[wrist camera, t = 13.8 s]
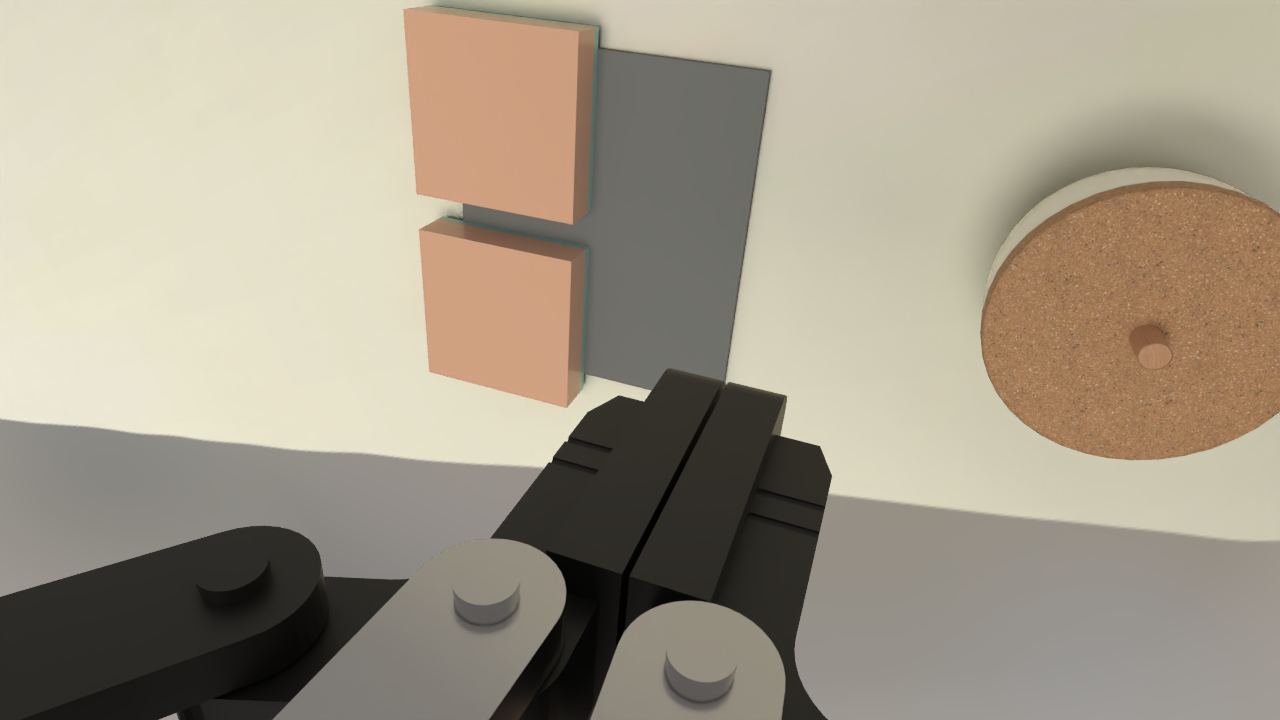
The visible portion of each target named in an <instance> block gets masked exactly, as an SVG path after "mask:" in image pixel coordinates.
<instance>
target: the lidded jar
mask: <svg viewBox="0 0 1280 720" xmlns="http://www.w3.org/2000/svg"><path fill="white" fill-rule="evenodd" d="M980 334H981V345H982V355H983V360H984V363H985V367H986V370H987V373H988V376H989V378H990V380H991V382H992V384H993V386H994V388H995V390H996V392H997V394H998V395H999V397H1000V398H1001V399H1002V400H1003V402H1004V403H1005V404H1006V406H1007V407H1008V408H1009V410H1010V411H1012V412H1013V413H1014V414H1015V415H1016V416H1017V417H1018V418H1019V419H1020V420H1021V421H1022V422H1023V423H1024V424H1026V425H1027V426H1029V427H1030V428H1032V429H1033V430H1034V431H1036V432H1037V433H1039V434H1040V435H1042V436H1044V437H1046V438H1048V439H1050V440H1052V441H1054V442H1056V443H1058V444H1060V445H1062V446H1065V447H1068V448H1071V449H1074V450H1077V451H1080V452H1083V453H1087V454H1091V455H1096V456H1101V457H1106V458H1115V459H1127V460H1152V459H1165V458H1171V457H1178V456H1185V455H1189V454H1193V453H1197V452H1201V451H1205V450H1209V449H1212V448H1214V447H1217V446H1219V445H1222V444H1224V443H1227V442H1229V441H1232V440H1234V439H1236V438H1238V437H1240V436H1242V435H1244V434H1246V433H1248V432H1250V431H1252V430H1254V429H1256V428H1258V427H1259V426H1260V425H1262V424H1263V423H1265V422H1266V421H1267V420H1269V419H1270V418H1272V417H1273V416H1274V415H1276V414H1277V413H1279V412H1280V214H1279V213H1277V212H1276V211H1275V210H1273V209H1272V208H1270V207H1269V206H1267V205H1266V204H1264V203H1262V202H1260V201H1258V200H1255V199H1253V198H1251V197H1250V196H1248V195H1247V194H1245V193H1244V192H1242V191H1241V190H1239V189H1237V188H1235V187H1232V186H1230V185H1228V184H1226V183H1223V182H1221V181H1219V180H1216V179H1214V178H1211V177H1208V176H1205V175H1201V174H1197V173H1193V172H1190V171H1186V170H1179V169H1170V168H1161V167H1137V168H1125V169H1118V170H1112V171H1106V172H1103V173H1100V174H1096V175H1093V176H1089V177H1086V178H1083V179H1081V180H1079V181H1076V182H1074V183H1072V184H1070V185H1067V186H1065V187H1063V188H1061V189H1060V190H1058V191H1057V192H1055V193H1053V194H1052V195H1050V196H1048V197H1047V198H1045V199H1044V200H1043V201H1041V202H1040V203H1039V204H1038V205H1036V206H1035V207H1034V208H1033V209H1031V210H1030V211H1029V212H1028V213H1027V214H1026V215H1025V216H1024V217H1023V218H1022V219H1021V220H1020V221H1019V223H1018V224H1017V225H1016V226H1015V227H1014V228H1013V230H1012V231H1011V233H1010V234H1009V236H1008V237H1007V238H1006V240H1005V241H1004V243H1003V244H1002V246H1001V247H1000V249H999V251H998V253H997V255H996V258H995V260H994V262H993V264H992V267H991V270H990V274H989V277H988V281H987V284H986V288H985V292H984V303H983V310H982V320H981V331H980Z"/></svg>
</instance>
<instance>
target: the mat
mask: <svg viewBox="0 0 1280 720" xmlns="http://www.w3.org/2000/svg"><path fill="white" fill-rule="evenodd" d="M770 75H771V71H769V70H762V69H754V68H747V67H739V66H732V65H724V64H716V63H709V62H701V61H694V60H686V59H679V58H671V57H664V56H656V55H649V54H641V53H634V52H626V51H618V50H611V49H603V48H598V62H597V85H596V108H595V132H594V155H593V178H592V201H591V211H590V212H589V213H587V214H586V215H585V216H584V217H582V218H581V219H580V220H578V221H577V222H576V223H574V224H573V225H572V224H567V223H562V222H557V221H551V220H546V219H541V218H536V217H531V216H526V215H521V214H516V213H511V212H506V211H501V210H496V209H491V208H485V207H480V206H475V205H470V204H465V203H463V221H467V222H472V223H477V224H482V225H487V226H492V227H497V228H502V229H507V230H511V231H516V232H521V233H526V234H531V235H536V236H541V237H546V238H551V239H556V240H561V241H565V242H570V243H575V244H580V245H585V246H589V266H588V290H587V313H586V336H585V359H584V374H588V375H592V376H596V377H600V378H604V379H608V380H612V381H616V382H620V383H624V384H628V385H632V386H636V387H640V388H644V389H648V390H653V388H654V387H655V385H656V384H657V382H658V381H659V379H660V378H661V376H662V375H663V373H664V372H665V370H666V369H668V368H672V369H676V370H680V371H685V372H689V373H693V374H697V375H701V376H705V377H710V378H714V379H718V380H722V381H725V378H726V371H727V364H728V358H729V351H730V344H731V337H732V331H733V324H734V317H735V311H736V304H737V297H738V290H739V284H740V277H741V270H742V264H743V257H744V250H745V243H746V237H747V230H748V223H749V216H750V210H751V203H752V196H753V190H754V183H755V176H756V169H757V163H758V156H759V149H760V142H761V136H762V129H763V122H764V116H765V109H766V102H767V95H768V89H769V82H770Z"/></svg>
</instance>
